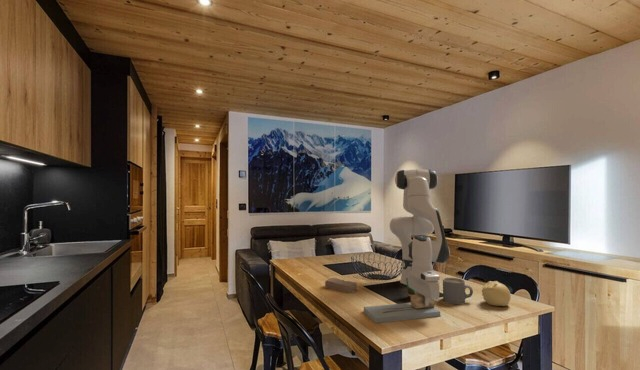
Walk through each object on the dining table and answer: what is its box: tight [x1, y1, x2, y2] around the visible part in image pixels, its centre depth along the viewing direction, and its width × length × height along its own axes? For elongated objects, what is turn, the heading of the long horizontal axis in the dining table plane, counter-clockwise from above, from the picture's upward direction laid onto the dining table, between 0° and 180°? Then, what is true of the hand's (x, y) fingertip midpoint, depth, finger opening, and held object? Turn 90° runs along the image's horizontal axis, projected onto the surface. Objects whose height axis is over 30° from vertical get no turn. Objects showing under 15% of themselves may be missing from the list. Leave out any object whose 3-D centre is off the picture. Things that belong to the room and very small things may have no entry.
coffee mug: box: [442, 277, 474, 305], centre depth 155 cm, size 13×10×10 cm
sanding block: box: [410, 294, 435, 310], centre depth 142 cm, size 9×4×5 cm, turn 103°
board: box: [363, 302, 441, 324], centre depth 139 cm, size 30×13×2 cm, turn 103°
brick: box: [324, 277, 358, 294], centre depth 176 cm, size 17×8×5 cm, turn 53°
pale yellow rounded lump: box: [481, 280, 511, 307], centre depth 151 cm, size 11×12×11 cm
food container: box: [406, 277, 416, 299], centre depth 161 cm, size 12×6×10 cm, turn 117°
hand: (422, 303), depth 142 cm, fingers closed on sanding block, 4 cm apart
